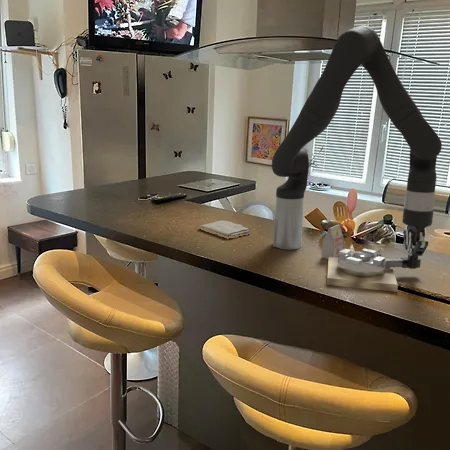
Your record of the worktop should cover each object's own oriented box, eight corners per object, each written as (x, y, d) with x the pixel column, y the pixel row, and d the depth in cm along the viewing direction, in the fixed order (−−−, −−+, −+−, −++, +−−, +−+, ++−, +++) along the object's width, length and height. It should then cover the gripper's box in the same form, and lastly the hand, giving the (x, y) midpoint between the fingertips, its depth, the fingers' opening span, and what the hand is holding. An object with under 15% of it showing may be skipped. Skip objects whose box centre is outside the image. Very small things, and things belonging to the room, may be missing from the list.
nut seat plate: (326, 284, 124) (327, 276, 123) (328, 263, 141) (328, 255, 140) (396, 291, 120) (397, 283, 119) (389, 268, 137) (390, 261, 136)
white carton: (321, 257, 146) (323, 227, 143) (331, 252, 151) (334, 223, 148) (332, 260, 143) (334, 229, 141) (342, 255, 148) (344, 225, 146)
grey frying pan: (346, 277, 123) (347, 262, 122) (331, 261, 135) (332, 247, 134) (429, 275, 125) (431, 261, 124) (407, 259, 137) (408, 246, 136)
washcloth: (228, 241, 163) (229, 233, 162) (197, 231, 175) (197, 223, 175) (252, 235, 170) (252, 227, 169) (220, 225, 183) (220, 218, 182)
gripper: (443, 212, 117) (434, 276, 121) (423, 202, 130) (416, 260, 134) (413, 212, 117) (406, 275, 122) (396, 202, 130) (390, 260, 134)
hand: (411, 267), depth 128 cm, fingers closed
